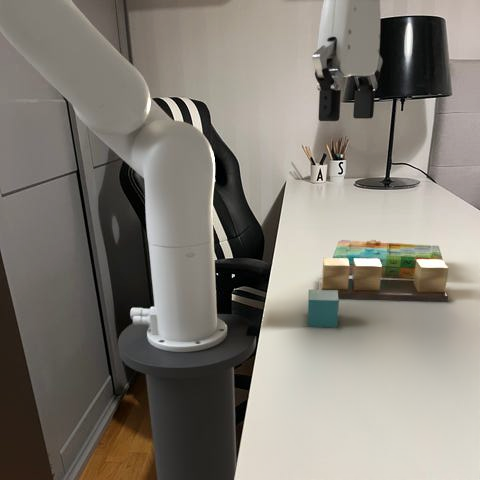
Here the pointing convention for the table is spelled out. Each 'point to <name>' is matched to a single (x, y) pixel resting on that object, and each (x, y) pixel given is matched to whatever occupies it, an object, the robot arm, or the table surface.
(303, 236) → the table surface
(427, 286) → the maple block
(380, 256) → the puzzle game
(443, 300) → the walnut board
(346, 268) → the maple block
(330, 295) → the teal block
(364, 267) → the maple block
